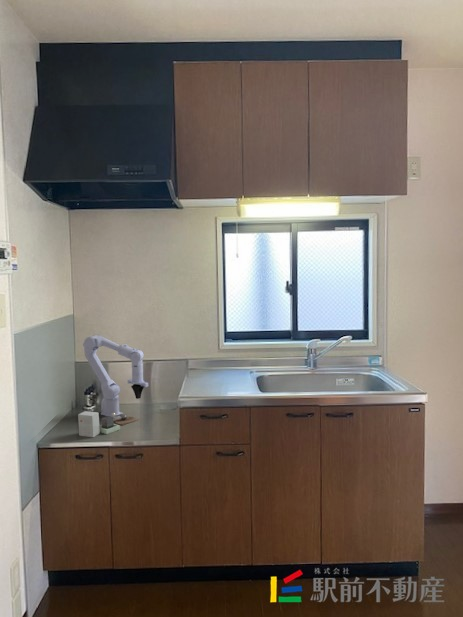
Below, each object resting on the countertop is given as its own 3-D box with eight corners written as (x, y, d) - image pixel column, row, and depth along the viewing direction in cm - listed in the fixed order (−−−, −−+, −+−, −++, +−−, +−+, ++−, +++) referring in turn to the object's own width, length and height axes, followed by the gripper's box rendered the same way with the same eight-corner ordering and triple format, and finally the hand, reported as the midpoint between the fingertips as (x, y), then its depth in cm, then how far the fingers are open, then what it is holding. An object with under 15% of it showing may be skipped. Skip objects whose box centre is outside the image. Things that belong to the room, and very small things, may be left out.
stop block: (101, 430, 248) (101, 418, 248) (108, 427, 252) (108, 416, 251) (107, 431, 246) (106, 419, 245) (113, 429, 249) (113, 417, 249)
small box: (100, 433, 245) (99, 412, 244) (93, 437, 239) (92, 415, 238) (85, 432, 247) (84, 410, 246) (78, 435, 242) (77, 414, 241)
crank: (124, 416, 266) (124, 409, 266) (128, 417, 263) (128, 410, 263) (109, 420, 260) (109, 412, 260) (113, 421, 258) (112, 414, 257)
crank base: (108, 421, 263) (108, 419, 263) (124, 416, 271) (124, 413, 271) (122, 425, 256) (122, 423, 256) (138, 419, 265) (138, 417, 265)
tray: (95, 431, 248) (95, 426, 248) (109, 426, 255) (109, 422, 254) (106, 434, 243) (106, 430, 243) (119, 429, 250) (119, 425, 249)
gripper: (122, 372, 271) (123, 397, 273) (140, 376, 262) (141, 402, 263) (133, 370, 277) (133, 394, 278) (151, 373, 267) (151, 399, 269)
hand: (138, 398), depth 271 cm, fingers closed
